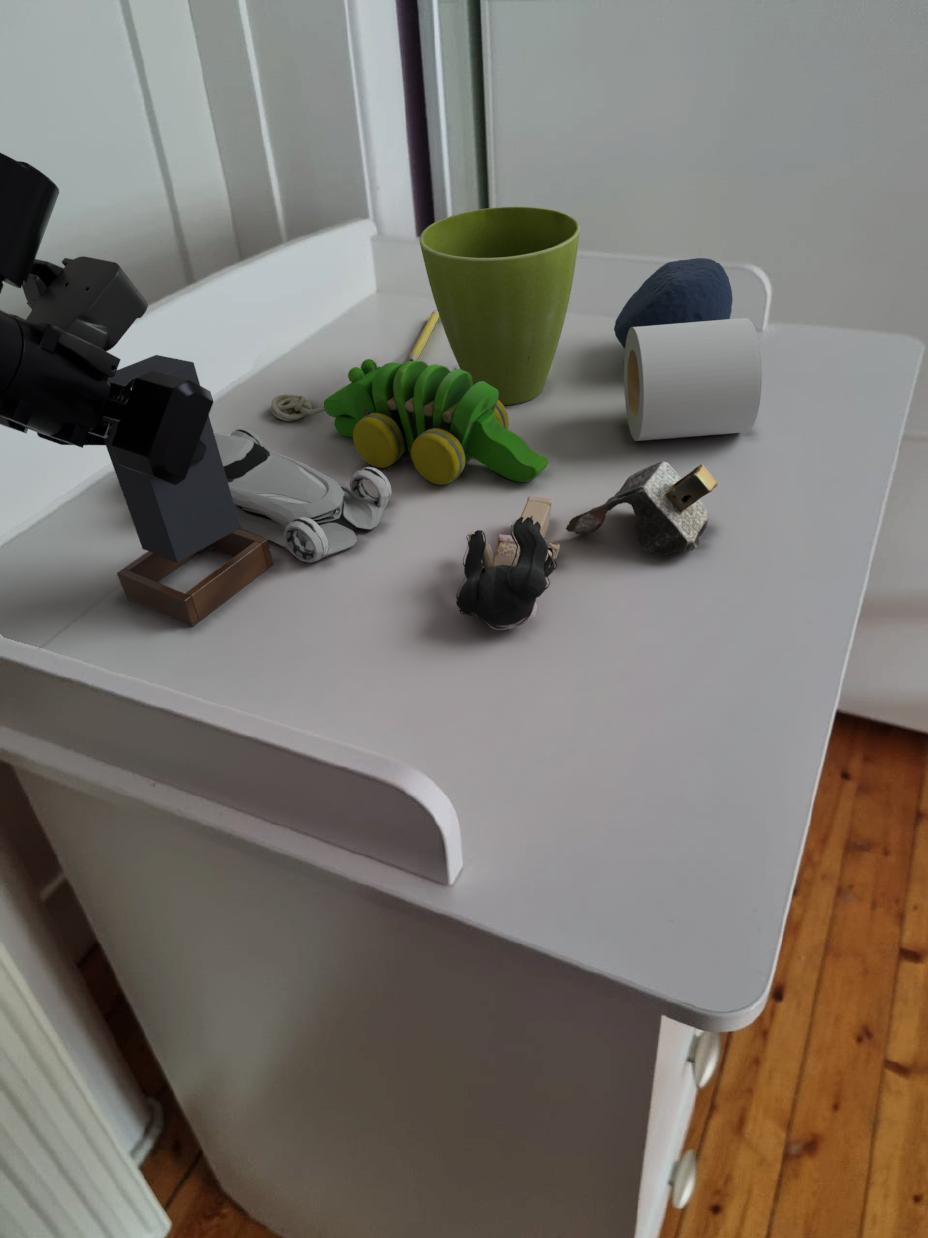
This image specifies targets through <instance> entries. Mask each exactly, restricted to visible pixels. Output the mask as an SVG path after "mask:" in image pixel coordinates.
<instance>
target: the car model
mask: <svg viewBox="0 0 928 1238" xmlns="http://www.w3.org/2000/svg"><path fill="white" fill-rule="evenodd" d="M214 436H215V439H216V443H217V446H218V450H219V453H220V457H221V460H222V464H223V467H224V471H225V474H226V478H227V481H228V485H229V488H230V492H231V495H232V499H233V502H234V506H235V509H236V513H237V516H238V520H239V523H240V527H241V528H239V529H240V530H243V531H246V532H249V533H252V534H254V535H257V536H260V537H263V538H266V539H268V541H270V542H273V544H277V545H278V546H280V547H282V548H284V549H286V550H287V551H288V552H289V553H291V555H293V556H294V557H295V558H296V559H298V560H299V561H301V562H304V563H311V564H312V563H315V562H317V561H320V560H321V559H324V558H326V557H329V556H331V555H334V554H337V553H339V552H342V551H345V550H347V549H350V548H352V547H354V546H355V545H356V543H357V542H358V541H359V539H358V537H357V535H356V533H355V532H354V531H360V532H361V531H362V532H366V531H368V532H370V531H372V530H374V529H375V528H377V527H378V526H379V523H380V521H381V519H382V516H383V514H384V511H385V508H386V507H387V505H388V503H389V501H390V499H391V497H392V492H393V491H392V486H391V483H390V481H389V479H388V477H387V476H386V475H385V474H384V473H383V472H382V471H381V470H379V469H377V467H373V466H366V467H362V468H360V469H358V470H357V471H355V472H354V473H353V474H352V477H351V479H350V482H349V487H350V489H349V488H348V487H346V486H344V485H343V484H341V483H339V482H338V481H336V480H335V479H333V478H332V477H329V476H328V475H325V474H324V473H323V472H321V471H319V470H317V469H315V468H313V467H311V466H310V465H307V464H305V463H303V462H300V461H298V460H296V459H294V458H291V457H289V456H286V455H284V454H281V453H278V452H276V451H272V450H270V449H267V448H266V447H265V445H264V443H263V441H262V440H261V438H260V437H259V436H258V435H257V433H255V432H254V431H252V430H251V429H248V428H240V429H235V431H232V432H231V433H230V434H222V433H218V432H214ZM364 480H366V481H369V482H370V483H371V484H372V485H373V486H374V487H375V489H376V490H377V495H378V497H374V496H373V495H372V494H370V493H369V492H368V491H367V489H366V488H365V485H364Z"/></svg>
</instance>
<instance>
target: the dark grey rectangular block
mask: <svg viewBox="0 0 928 1238" xmlns="http://www.w3.org/2000/svg"><path fill="white" fill-rule="evenodd" d="M151 370H154V371H158V372H162V373H166V374H169V375H173V376H177V377H181V378H184V379H188V380H191V381H192V382H194V383H196V384H198V385H200V386H201V383H200V380H199V376H198V372H197V369H196V366H195V363H194V361H189V360H185V359H180V358H173V357H169V356H164V355H159V354H155V355H152V356H149V357H147V358H145V359H142V360H140V361H137V362H134V363H131V364H130V365H126V366H124V367H122V368H119V369H117V371H116V373H115V376H114V377H113V378H111V377H109V378H108V381H111V382H114V383H118V384H121V385H126V384H127V383H128V382H129V380H131V379H132V378H137V377H139V376H141V375H143V374H145V373H147V372H149V371H151ZM109 400H110V401H114V402H117V403H120V404H124V405H125V404H126V402H125V403H124V402H122V401H121V402H120V401H118V400H114V399H111V398H110V399H109ZM126 401H128V399H127V400H126ZM102 420H103V421H106V422H110V423H112V424H113V427H112V431H111V434H110V436H109V437H108V438H103V439H104V442H105V444H106V445H105V447H106V450H107V453H108V455H109V458H110V461H111V464H112V466H113V469H114V473H115V476H116V478H117V481H118V485H119V486H120V489H121V492H122V495H123V497H124V500H125V504H126V506H127V509H128V512H129V515H130V517H131V520H132V523H133V526H134V528H135V531H136V535H137V537H138V540H139V543H140V545H141V548H142V550H145V551H146V552H148V551H149V552H151V553H154V554H156V555H159V556H161V557H164V558H166V559H168V560H171V561H173V562H176V563H179V562H180V561H182V560H184V559H186V558H188V557H189V556H191V555H193V554H195V553H196V552H198V551H200V550H202V549H203V550H205V549H206V548H207V547H208V546H209V545H211V544H212V543H214V542H216V541H218V540H220V539H221V538H223V537H225V536H227V535H229V534H230V533H232V532H234V531H236V530H237V529H239V528H241V527H240V523H239V520H238V516H237V513H236V509H235V506H234V502H233V499H232V495H231V492H230V488H229V485H228V481H227V478H226V474H225V471H224V467H223V464H222V460H221V457H220V453H219V450H218V446H217V443H216V439H215V436H214V433H215V431H214V428H213V425H212V422H211V418H210V414H209V415H208V418H207V421H206V424H205V426H204V429H203V432H202V435H201V437H200V440H201V441H202V442H203V443H204V444H205V445H206V447H207V449H206V452H205V455H204V458H203V460H202V461H198V462H191V465H190V467H189V470H188V473H187V475H186V478H185V480H183V481H182V482H180V483H179V484H177V485H173V484H170V483H167V482H164V481H161V480H158V479H156V478H153V477H150V476H147V475H144V474H142V473H139V472H136V471H134V470H131V469H128V468H126V467H123V466H121V465H118V464H117V461H116V458H115V455H114V452H113V449H112V446H111V445H112V442H113V439H114V437H115V434H116V431H117V425H118V423H119V422H117V421H114V420H111V419H108V418H104V417H103V418H102ZM205 547H206V548H205ZM204 548H205V549H204ZM203 550H202V551H203Z"/></svg>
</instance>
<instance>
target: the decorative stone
mask: <svg viewBox="0 0 928 1238" xmlns="http://www.w3.org/2000/svg"><path fill="white" fill-rule="evenodd" d="M725 270H726V269H724V267H723V266H722V264H721V263H720V262H717V261H715V260H714V259H712V258H704V257H697V258H696V257H695V258H689V259H679V260H674V261H669V262H665V264H663V265H661V266H660V267H659V268H658V269H656V270H655V271H654V272H653V273H652V274H650V276H649V277H648V278H647V279H645V280H644V281H643V283H642V284H641V286H639V288H638V289H637V290H636V291H635V292H634V293H633V294H632V295H631V296H630V298H628V300H627V301H626V303H625V304H624V306H623V307H622V309H621V311H620V313H619V314H618V316H617V318H616V319H615V322H614V327H613V331H614V334H615V337H616V339H617V340H618V342H619V344H620V345H621V347H622V348H623V349H625V346H626V339H627V334H628V331H629V329H630V328H631V327H640V326H653V325H665V324H677V323H689V322H702V321H714V320H726V319H731V315H732V310H733V309H732V307H733V291H732V286H731V282H730V278H729V276H728V274H727V272H726V271H725Z"/></svg>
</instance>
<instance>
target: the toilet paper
mask: <svg viewBox="0 0 928 1238" xmlns="http://www.w3.org/2000/svg"><path fill="white" fill-rule="evenodd" d="M623 361H624V362H623V385H624V386H623V387H624V402H625V412H626V418H627V424H628V425H627V426H628V429H629V432H630V436H631V438H632V440H634V441H635V442H637V441H638V442H639V441H640V442H641V441H654V440H664V439H665V440H666V439H677V438H680V439H681V438H689V437H690V438H691V437H703V436H704V437H705V436H715V435H716V436H717V435H728V434H729V435H730V434H740V433H743V434H744V433H749V432H750V431H751V430H752V428H753V427H754V425H755V423H756V420H757V417H758V415H759V414H758V413H759V410H760V405H761V398H762V397H761V395H762V385H763V383H762V380H763V379H762V377H763V374H762V373H763V371H762V369H763V368H762V355H761V348H760V342H759V338H758V334H757V331H756V328H755V326H754V324H753V322H752V321H751V320H750V319H749V318H747V317H741V318H730V319H726V320H714V321H702V322H689V323H677V324H665V325H653V326H640V327H631V328H630V329H629V331H628V334H627V339H626V346H625V348H624V358H623Z"/></svg>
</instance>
